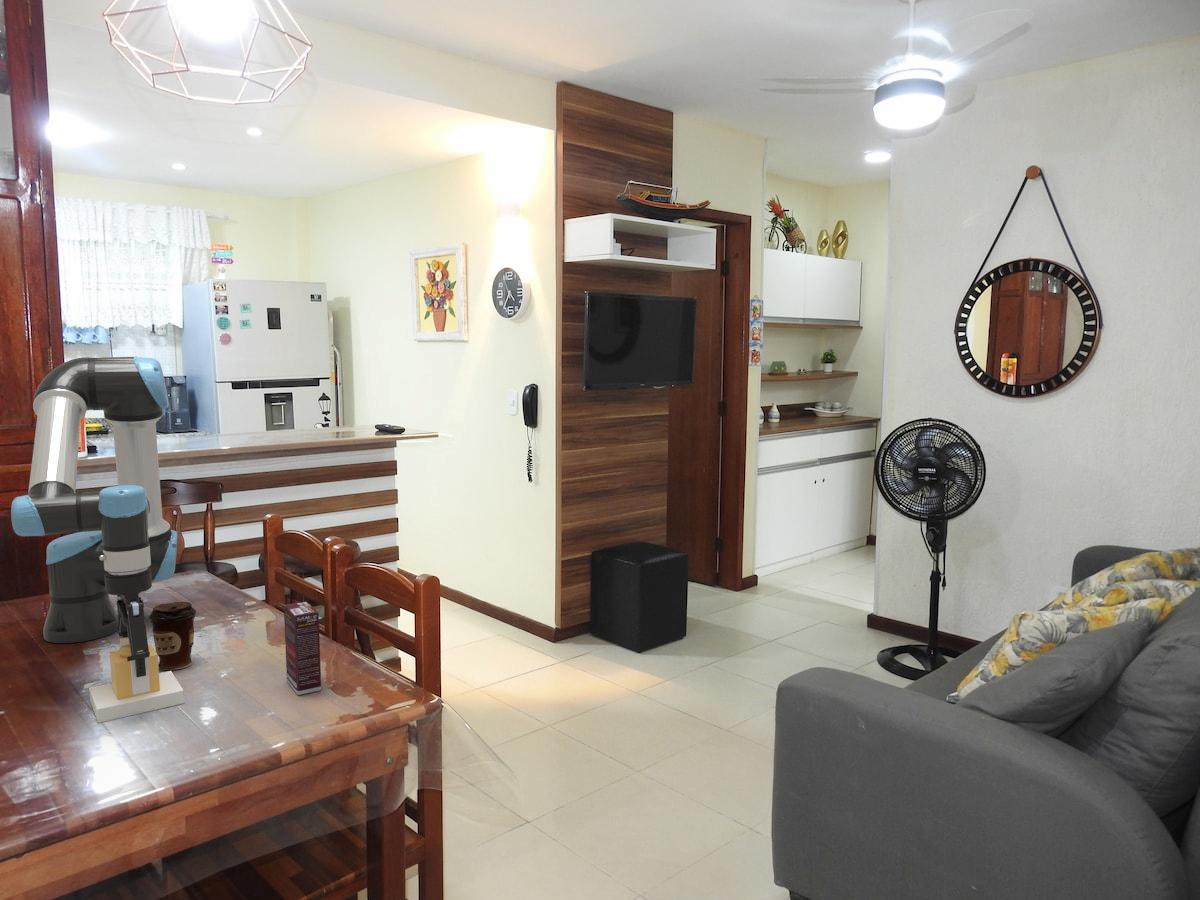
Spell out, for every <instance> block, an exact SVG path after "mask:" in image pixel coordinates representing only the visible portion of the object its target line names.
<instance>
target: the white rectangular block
mask: <svg viewBox="0 0 1200 900" xmlns="http://www.w3.org/2000/svg"><path fill="white" fill-rule="evenodd" d="M172 671H173V670H167V671H163V672H159V681H160V691H157V692H152V693H148V694H143V695H138V696H134V697H129V698H125V699H120V700H117V698H116V696H115V693H114V691H113V689H112V682H110V683H106V684H101V685H96V686H91V687H89V688H88V690H89V701H90V704H91V707H92V710H93V713H94V715H95V719H96V722H97V724H100V723H104V722H108V721H112V720H117V719H122V718H127V717H130V716H135V715H139V714H143V713H148V712H152V711H155V710H160V709H165V708H170V707H173V706H177V705H183V704H185V694H184V689H183V688H182V686H181V684H180V682H179V681H178V679H177V678H176V676H175V675H174V673H173V672H172Z"/></svg>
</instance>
